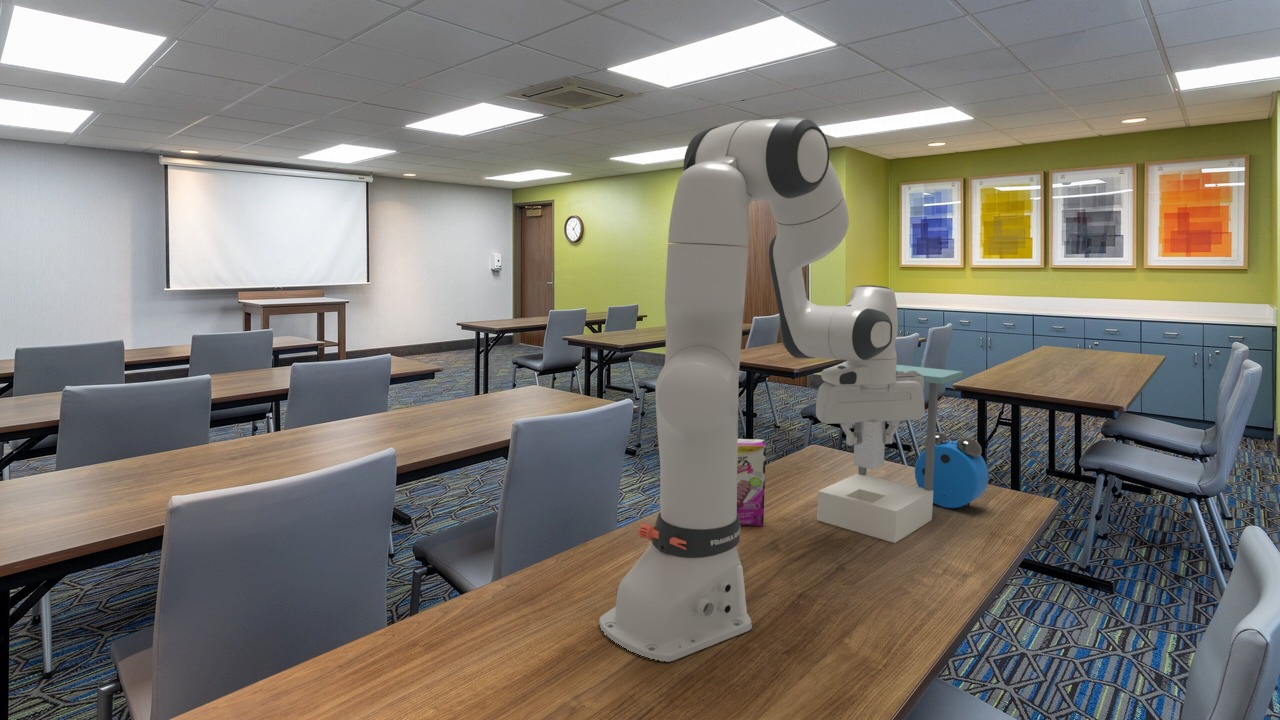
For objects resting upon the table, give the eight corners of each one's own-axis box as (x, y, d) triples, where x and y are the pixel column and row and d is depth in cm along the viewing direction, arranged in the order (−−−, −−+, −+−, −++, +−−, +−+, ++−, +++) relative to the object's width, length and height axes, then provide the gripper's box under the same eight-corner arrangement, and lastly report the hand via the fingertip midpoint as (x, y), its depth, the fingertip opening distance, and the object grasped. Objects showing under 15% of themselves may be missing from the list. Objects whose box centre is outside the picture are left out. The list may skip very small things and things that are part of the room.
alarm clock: (987, 509, 140) (992, 438, 138) (974, 517, 136) (979, 443, 134) (925, 493, 150) (929, 427, 148) (911, 500, 146) (915, 432, 144)
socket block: (905, 546, 122) (913, 385, 118) (808, 517, 137) (812, 373, 133) (954, 514, 138) (962, 371, 134) (861, 491, 152) (867, 361, 148)
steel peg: (872, 469, 128) (873, 422, 127) (853, 465, 131) (854, 419, 130) (883, 465, 130) (885, 418, 129) (865, 460, 133) (866, 415, 132)
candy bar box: (706, 525, 133) (707, 443, 130) (706, 516, 138) (707, 437, 135) (764, 527, 132) (766, 444, 129) (762, 518, 137) (764, 438, 134)
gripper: (915, 367, 132) (913, 437, 134) (813, 371, 130) (812, 442, 132) (932, 372, 126) (929, 445, 128) (825, 376, 124) (824, 450, 126)
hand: (869, 444), depth 130 cm, fingers closed on steel peg, 6 cm apart
